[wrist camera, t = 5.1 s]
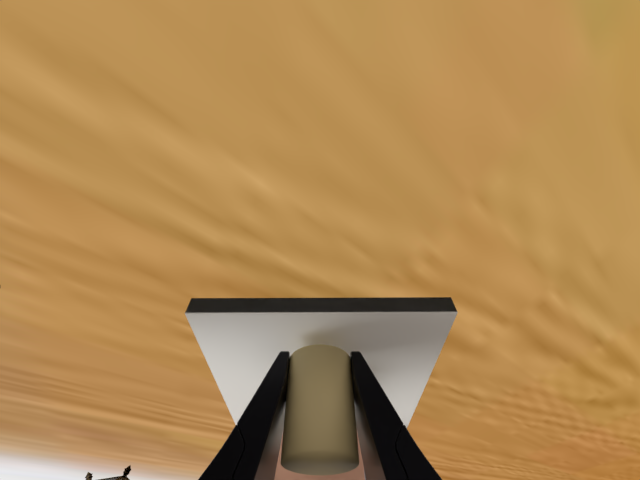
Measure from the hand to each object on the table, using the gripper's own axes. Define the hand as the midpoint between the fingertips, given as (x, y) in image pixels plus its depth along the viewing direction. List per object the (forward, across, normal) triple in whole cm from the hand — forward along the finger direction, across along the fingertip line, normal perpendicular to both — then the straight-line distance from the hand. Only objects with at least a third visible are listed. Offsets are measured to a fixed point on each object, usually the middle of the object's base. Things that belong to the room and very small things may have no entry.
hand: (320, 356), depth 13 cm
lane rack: (+1, 0, -10) cm, 11 cm away
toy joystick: (+1, 0, -7) cm, 7 cm away
